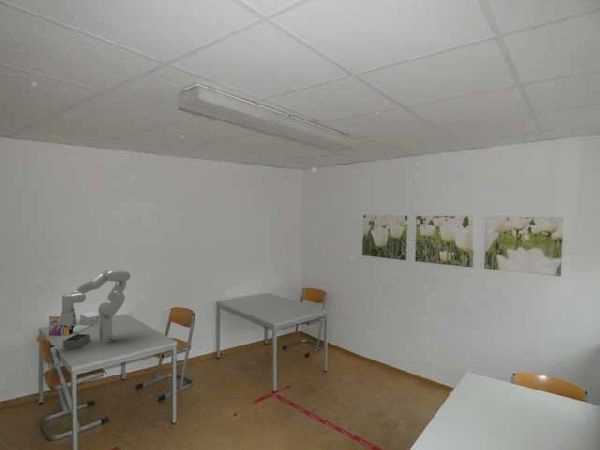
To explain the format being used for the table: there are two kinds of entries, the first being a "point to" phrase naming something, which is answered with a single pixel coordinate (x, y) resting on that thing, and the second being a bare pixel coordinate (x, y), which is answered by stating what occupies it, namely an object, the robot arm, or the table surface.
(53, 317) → the candy bar box
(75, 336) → the tub
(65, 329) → the tool with wooden handle
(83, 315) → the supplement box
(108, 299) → the robot arm
